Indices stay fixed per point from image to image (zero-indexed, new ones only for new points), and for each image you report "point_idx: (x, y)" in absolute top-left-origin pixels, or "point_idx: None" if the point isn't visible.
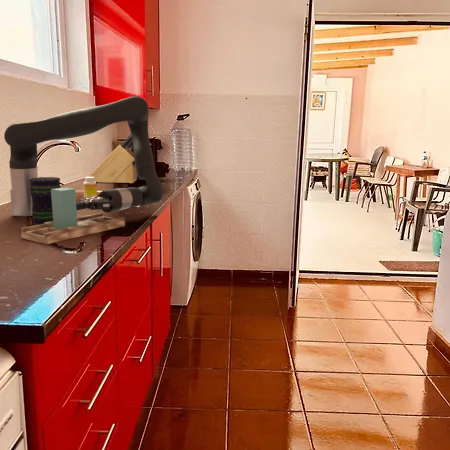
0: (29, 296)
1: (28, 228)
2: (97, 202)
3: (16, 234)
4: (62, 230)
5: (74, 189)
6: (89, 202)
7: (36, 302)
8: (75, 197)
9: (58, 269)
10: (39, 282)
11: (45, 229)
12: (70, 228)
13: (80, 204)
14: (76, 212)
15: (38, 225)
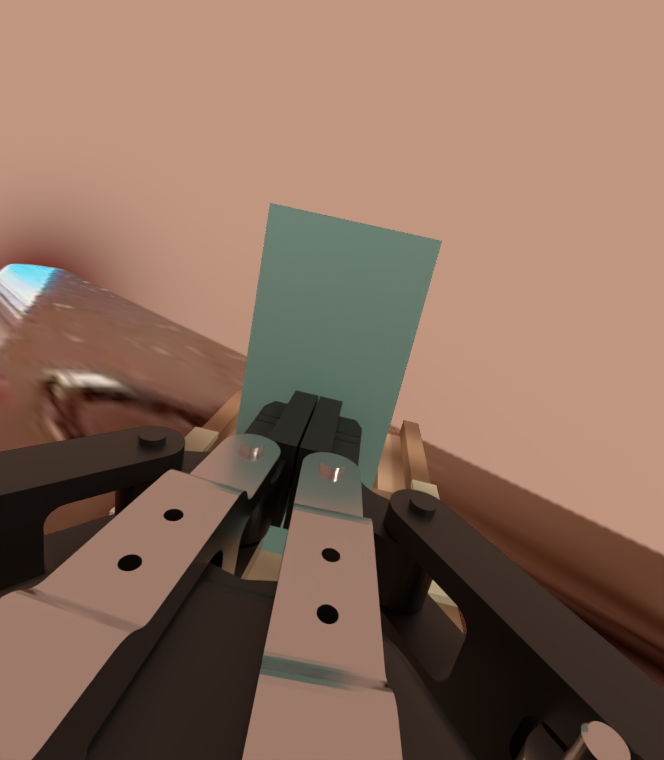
0: (67, 286)
1: (404, 435)
2: (33, 453)
3: (491, 496)
4: (214, 414)
5: (272, 210)
6: (204, 468)
7: (45, 279)
8: (258, 294)
9: (63, 322)
10: (76, 301)
11: (377, 482)
12: (192, 433)
13: (263, 416)
14: (237, 428)
15: (412, 458)
